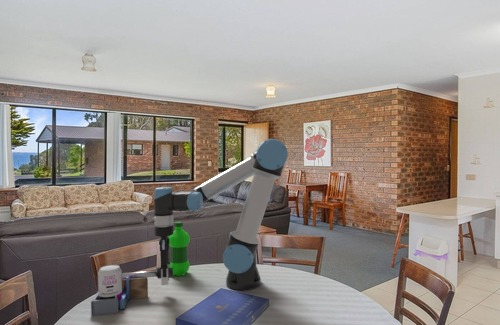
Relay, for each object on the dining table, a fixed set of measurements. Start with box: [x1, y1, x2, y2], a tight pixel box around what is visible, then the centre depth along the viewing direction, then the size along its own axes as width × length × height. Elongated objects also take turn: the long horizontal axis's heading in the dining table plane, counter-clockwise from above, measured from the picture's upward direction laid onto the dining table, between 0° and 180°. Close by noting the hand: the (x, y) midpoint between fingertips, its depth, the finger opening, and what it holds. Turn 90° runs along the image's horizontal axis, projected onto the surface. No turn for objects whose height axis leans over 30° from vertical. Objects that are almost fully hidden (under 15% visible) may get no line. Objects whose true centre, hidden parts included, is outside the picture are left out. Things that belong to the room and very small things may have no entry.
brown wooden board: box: [122, 277, 149, 300], centre depth 137 cm, size 14×1×8 cm, turn 100°
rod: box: [119, 267, 174, 310], centre depth 134 cm, size 22×13×11 cm, turn 100°
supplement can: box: [97, 264, 123, 309], centre depth 129 cm, size 8×8×15 cm
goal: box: [90, 287, 124, 316], centre depth 129 cm, size 9×12×5 cm
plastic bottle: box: [168, 221, 191, 277], centre depth 165 cm, size 10×10×25 cm
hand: (165, 282), depth 140 cm, fingers closed on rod, 4 cm apart
